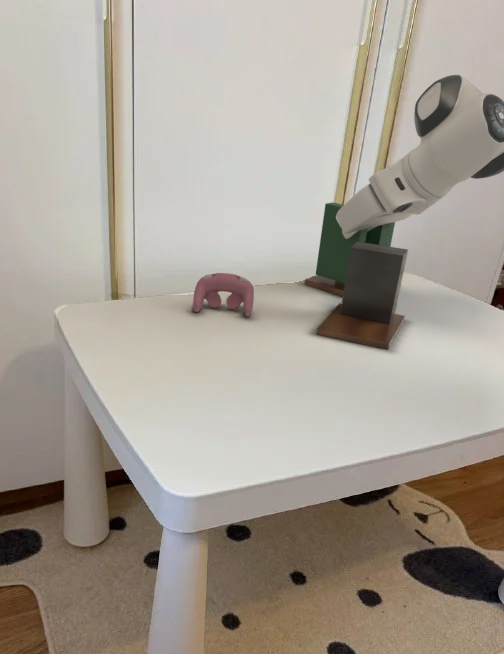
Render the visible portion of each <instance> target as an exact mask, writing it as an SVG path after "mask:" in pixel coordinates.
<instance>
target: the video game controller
mask: <svg viewBox="0 0 504 654" xmlns="http://www.w3.org/2000/svg"><path fill="white" fill-rule="evenodd" d="M219 292H224V293H225V292H226V293H231V294H229V295H228V297H227V298H226V303H225V304H226V305H227V307H228V308H229V309H230V310H232V311H233V310H237V309H239V307H240V306H241V305H242V303H243V311H244V312H243V313H244V316H245V317H250V316H251V315H252V312H253V308H254V301H255V299H254V298H255V291H254V285H253V284H252V282H251V281H250V280H248V279H247V278H246V277H245V276H240V275H237V274H234V273H228V272H215V273H211V274H209V273H208V274H205V275H204V276H201V277H200V279H199V280H198V281H197V282H196V285H195V287H194V291H193V299H192V300H193V302H192V308H193V311H194V313H199V311H200V310H201V309H202V306H203V304H204V300H206V301H207V304H208V306H209V307H211V308H212V309H213V308H214V309H215V308H219V307H220V306H221V304H222V298H221V295H220V294H219Z"/></svg>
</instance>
